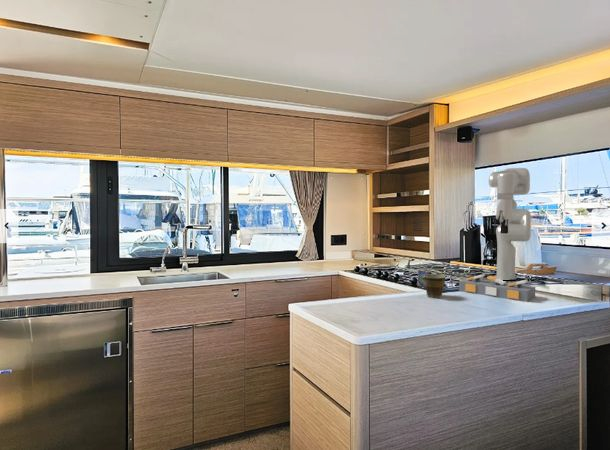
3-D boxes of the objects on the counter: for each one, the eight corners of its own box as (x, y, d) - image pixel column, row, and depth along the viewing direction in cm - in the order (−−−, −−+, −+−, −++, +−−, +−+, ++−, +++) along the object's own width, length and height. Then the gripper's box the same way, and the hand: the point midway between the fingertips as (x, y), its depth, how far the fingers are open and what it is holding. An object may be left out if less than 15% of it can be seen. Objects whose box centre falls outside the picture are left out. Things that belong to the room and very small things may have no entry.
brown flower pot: (442, 294, 208) (442, 274, 207) (447, 299, 198) (447, 278, 198) (415, 293, 209) (415, 273, 209) (419, 298, 200) (419, 277, 199)
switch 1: (470, 280, 218) (469, 277, 219) (485, 277, 213) (484, 274, 213) (467, 281, 215) (466, 278, 216) (482, 278, 210) (481, 275, 210)
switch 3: (511, 286, 204) (510, 283, 205) (528, 282, 199) (527, 279, 199) (508, 287, 202) (507, 284, 202) (525, 284, 196) (524, 280, 196)
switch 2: (489, 278, 212) (490, 275, 211) (505, 284, 206) (506, 281, 206) (486, 279, 209) (487, 276, 208) (502, 286, 204) (503, 283, 203)
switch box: (468, 286, 223) (469, 275, 223) (535, 297, 201) (535, 283, 201) (458, 291, 214) (458, 278, 214) (526, 302, 192) (527, 288, 192)
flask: (416, 285, 227) (416, 266, 226) (420, 285, 228) (420, 265, 228) (428, 289, 219) (429, 268, 218) (433, 288, 220) (433, 268, 219)
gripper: (502, 197, 221) (501, 231, 223) (492, 197, 211) (491, 233, 212) (518, 197, 216) (516, 232, 218) (507, 197, 206) (506, 234, 207)
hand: (504, 233), depth 215 cm, fingers closed
